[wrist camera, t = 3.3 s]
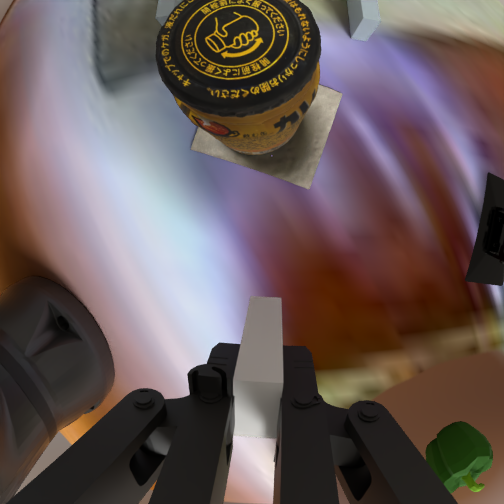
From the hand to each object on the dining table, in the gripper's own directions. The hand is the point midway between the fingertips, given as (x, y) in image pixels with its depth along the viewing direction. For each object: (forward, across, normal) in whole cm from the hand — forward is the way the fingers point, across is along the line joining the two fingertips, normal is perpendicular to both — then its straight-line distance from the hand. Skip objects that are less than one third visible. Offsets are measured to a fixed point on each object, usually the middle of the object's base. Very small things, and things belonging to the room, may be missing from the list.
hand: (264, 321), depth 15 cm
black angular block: (+8, +20, +4) cm, 22 cm away
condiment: (+7, 0, +11) cm, 13 cm away
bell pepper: (+7, +24, -21) cm, 32 cm away
